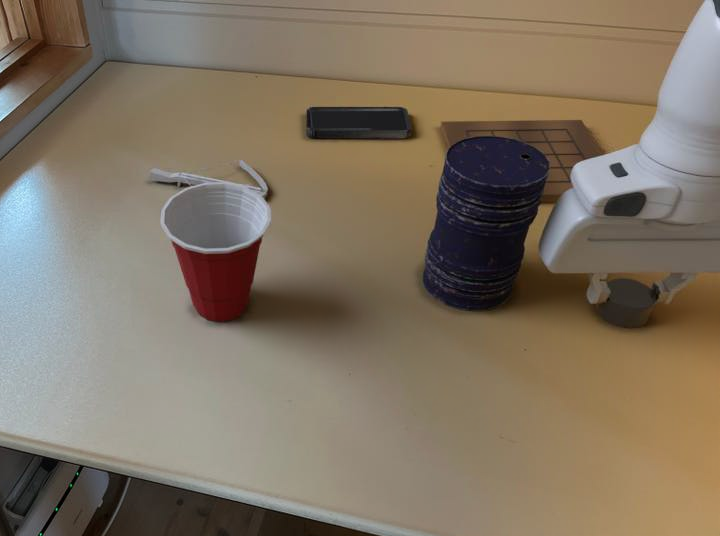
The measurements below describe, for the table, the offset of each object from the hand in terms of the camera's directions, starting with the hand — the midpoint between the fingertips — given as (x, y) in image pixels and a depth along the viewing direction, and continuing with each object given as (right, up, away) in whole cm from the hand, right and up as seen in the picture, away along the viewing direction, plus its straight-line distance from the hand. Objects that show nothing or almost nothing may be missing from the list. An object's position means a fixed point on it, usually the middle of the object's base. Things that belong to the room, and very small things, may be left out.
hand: (626, 300), depth 73 cm
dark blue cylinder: (-15, +2, +5) cm, 16 cm away
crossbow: (-44, +16, +21) cm, 52 cm away
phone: (-23, +28, +32) cm, 48 cm away
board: (-1, +21, +23) cm, 31 cm away
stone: (0, -1, +1) cm, 2 cm away
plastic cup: (-42, 0, +4) cm, 42 cm away
